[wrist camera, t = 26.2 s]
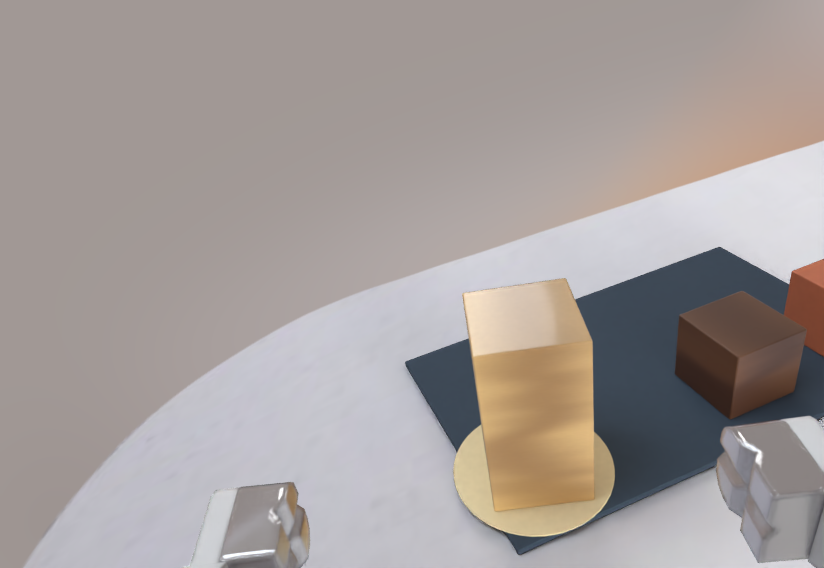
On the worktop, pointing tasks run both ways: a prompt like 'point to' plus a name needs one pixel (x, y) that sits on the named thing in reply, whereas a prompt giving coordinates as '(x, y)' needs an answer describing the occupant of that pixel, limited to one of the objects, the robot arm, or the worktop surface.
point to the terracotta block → (808, 303)
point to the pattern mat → (622, 396)
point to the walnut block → (738, 353)
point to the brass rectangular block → (533, 393)
